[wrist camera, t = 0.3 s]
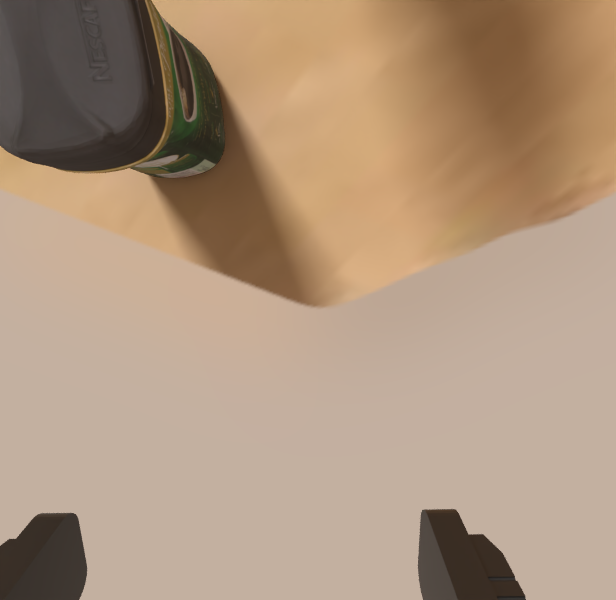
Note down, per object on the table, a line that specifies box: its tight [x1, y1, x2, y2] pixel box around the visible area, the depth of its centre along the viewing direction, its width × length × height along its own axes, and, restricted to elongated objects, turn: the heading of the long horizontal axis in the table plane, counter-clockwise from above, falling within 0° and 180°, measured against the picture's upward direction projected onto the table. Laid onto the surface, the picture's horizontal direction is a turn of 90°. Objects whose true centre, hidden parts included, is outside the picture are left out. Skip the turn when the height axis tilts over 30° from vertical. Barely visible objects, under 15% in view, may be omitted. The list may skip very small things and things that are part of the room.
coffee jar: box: [0, 0, 225, 178], centre depth 25 cm, size 10×8×19 cm
